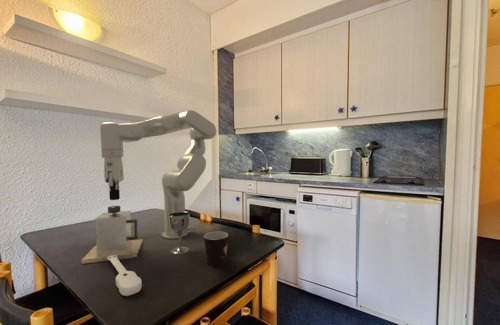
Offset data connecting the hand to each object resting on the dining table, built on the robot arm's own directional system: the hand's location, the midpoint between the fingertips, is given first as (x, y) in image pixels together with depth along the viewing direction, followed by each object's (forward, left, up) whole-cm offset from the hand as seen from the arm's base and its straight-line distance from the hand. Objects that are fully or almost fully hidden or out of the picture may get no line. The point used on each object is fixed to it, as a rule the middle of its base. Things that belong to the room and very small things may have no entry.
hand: (114, 199), depth 94 cm
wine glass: (-25, +7, -22) cm, 34 cm away
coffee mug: (-36, +24, -22) cm, 48 cm away
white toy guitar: (-7, +23, -22) cm, 33 cm away
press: (0, 0, -21) cm, 21 cm away
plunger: (0, 0, -19) cm, 19 cm away
